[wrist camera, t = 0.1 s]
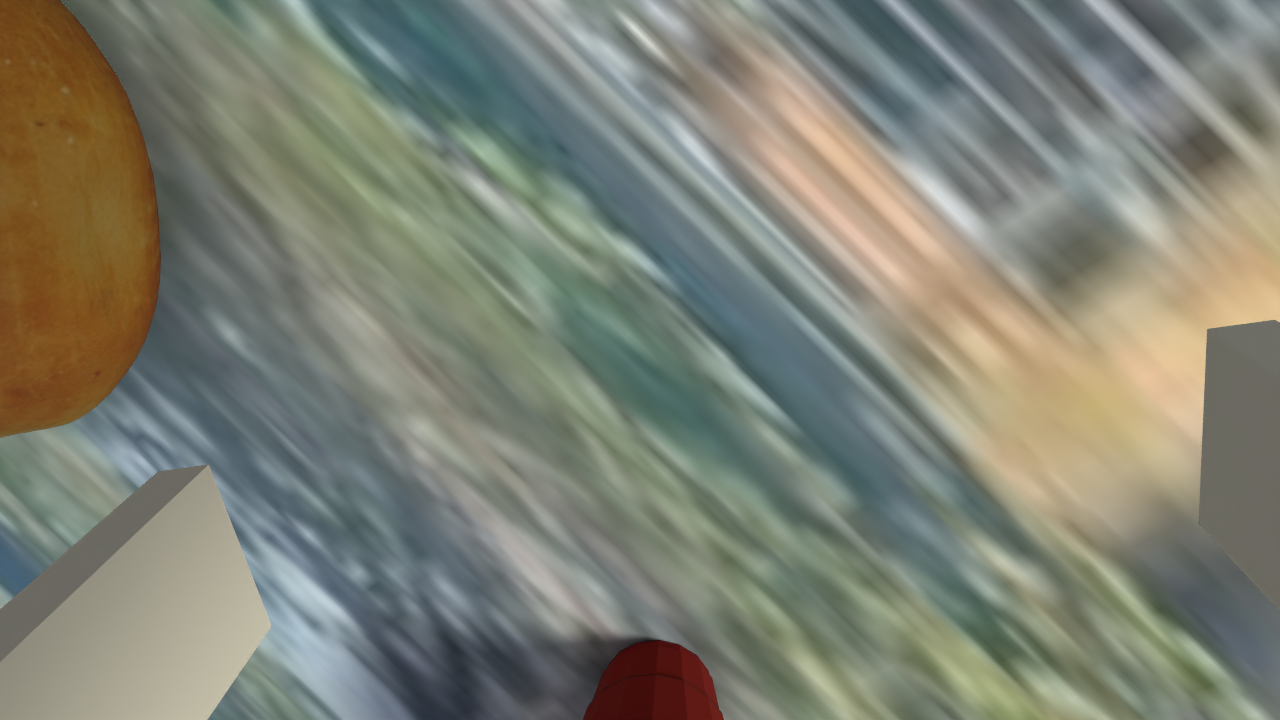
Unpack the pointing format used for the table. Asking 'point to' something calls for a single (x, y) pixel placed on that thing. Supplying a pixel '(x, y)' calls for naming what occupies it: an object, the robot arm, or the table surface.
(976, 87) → the table surface
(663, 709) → the plastic cup
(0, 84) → the bread
